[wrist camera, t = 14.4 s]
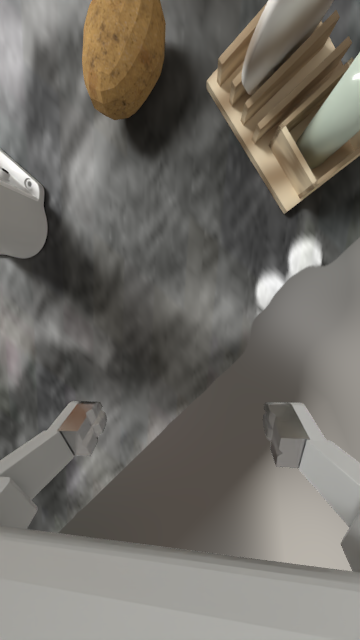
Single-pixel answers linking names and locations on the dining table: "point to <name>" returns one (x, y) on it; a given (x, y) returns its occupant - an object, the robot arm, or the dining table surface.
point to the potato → (122, 54)
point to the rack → (283, 93)
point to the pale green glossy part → (333, 120)
